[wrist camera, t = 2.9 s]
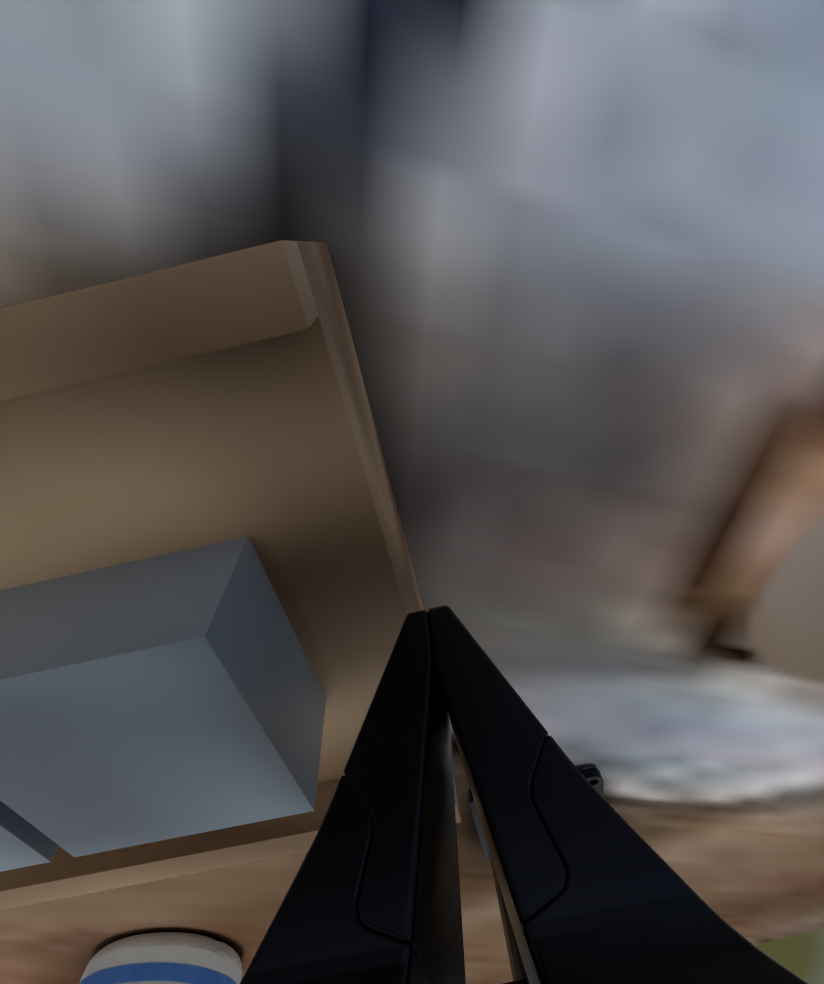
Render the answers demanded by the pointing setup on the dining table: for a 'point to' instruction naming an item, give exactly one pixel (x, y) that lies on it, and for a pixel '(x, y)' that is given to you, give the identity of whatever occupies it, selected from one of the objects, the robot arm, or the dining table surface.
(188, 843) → the brown square tray
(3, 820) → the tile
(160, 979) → the supplement tub
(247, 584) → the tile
